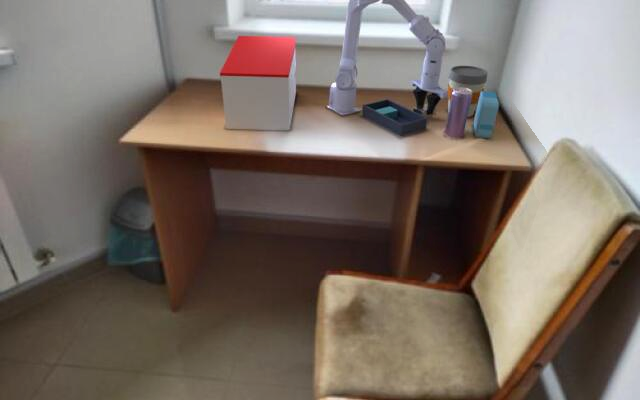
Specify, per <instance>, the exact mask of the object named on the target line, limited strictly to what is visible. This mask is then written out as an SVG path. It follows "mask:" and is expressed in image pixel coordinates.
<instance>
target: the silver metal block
mask: <svg viewBox="0 0 640 400" xmlns="http://www.w3.org/2000/svg"><path fill="white" fill-rule="evenodd" d="M427 106H428V103H424V105H420V106H417V105H416V106H413V110H412V111H414V112H416V113H418V114H420V115H422V116H425V117H427V118H430V117H433V116H437V112H438V107H437V106H436V107H435V109H434V111H433V114H431V115H427Z"/></svg>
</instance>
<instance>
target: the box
mask: <svg viewBox="0 0 640 400" xmlns="http://www.w3.org/2000/svg"><path fill="white" fill-rule="evenodd" d="M389 106H390V107H392V108H394V109H397V110H398V115H397V118H395V119H391V118H389V117H387V116H385V115H383V114H381V113H379V112H377V111H375V110H378V109H381V108H385V107H389ZM361 116H362V117H364V118H366V119H367V120H370V121H371V122H373V123H374V124H376V125H378V126H380V127H382V128H384V129H386V130H387V131H389V132H391V133H393V134H395V135H396V136H399V137H404V136H407V135H410V134H413V133H417V132H420V131H423V130H426V129H427V126H428V125H427V124H428V119H429V117H425V116H422V115H420V114H418V113H416V112H414V111H413V110H411V109H410V108H407V107H406V106H404V105H401V104H399V103H397V102H395V101H393V100H391V99H388V98H386V99H382V100H377V101H373V102H368V103H364V104H362V111H361Z"/></svg>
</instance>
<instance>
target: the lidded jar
mask: <svg viewBox="0 0 640 400" xmlns="http://www.w3.org/2000/svg"><path fill="white" fill-rule="evenodd" d="M448 78H449V82H448V84H447V97H446V98H447V99H448V100H447V101H448V104H447V112H448V111H449V106H450V101H451V96H452V92H453V89H454V88H457V87H464V88H468V89H471V90H472V98H471V103H470V107H469V112H468V117H467V118H470V117H473V115H474V114H475V112H476V109H477V105H478V101H479V97H480V93H481V91H485V88H484V87H485V84H486V83H487V81H488V71H487V70H486V69H484V68H481V67H478V66H472V65H455V66H453V67H451V69H450V72H449V75H448Z"/></svg>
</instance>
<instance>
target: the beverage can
mask: <svg viewBox="0 0 640 400" xmlns="http://www.w3.org/2000/svg"><path fill="white" fill-rule="evenodd" d="M471 98H472V90H471V89H468V88H464V87H457V88H454V89H453V92H452V96H451V101H450V106H449V111H448V110H447V117H446V123H445V128H444V134H445V136H447V137H449V138H454V139H459V138H463V136H464V135H465V130H466V127H467V126H466V125H467V120H468V118H469V117H468V112H469V107H470V103H471Z"/></svg>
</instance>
